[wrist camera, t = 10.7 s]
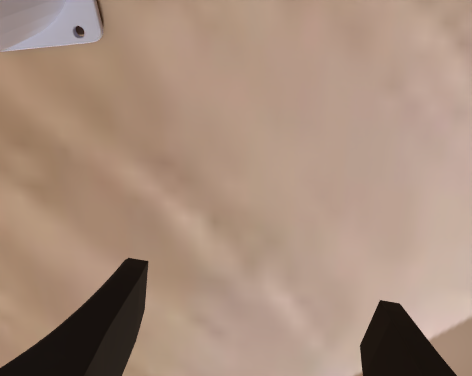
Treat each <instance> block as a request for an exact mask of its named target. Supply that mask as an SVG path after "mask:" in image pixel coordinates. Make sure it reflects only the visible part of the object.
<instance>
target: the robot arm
mask: <svg viewBox="0 0 472 376" xmlns="http://www.w3.org/2000/svg"><path fill="white" fill-rule="evenodd" d="M77 26H80V27H82V28H83V30H84V32H85V35H84V37H83V36H80V35H78V34H77V32H76V27H77ZM102 35H103V26H102V22H101V17H100V13H99V9H98V5H97V1H96V0H0V52H2V51H12V50H22V49H33V48H43V47H53V46H63V45H73V44H83V43H93V42H96V41H98V40H99V39H100V38H101V37H102ZM147 272H148V261H144V260H138V259H132V258H128V259H126V260H125V261H124V262H123V263H122V264H121V265H120V267H119V268H118V269H117V270H116V271H115V272H114V274H113V275H112V276H111V277H110V278H109V279H108V280H107V281H106V282H105V283H104V284H103V285H102V287H101V288H100V289H99V290H98V291H97V292H96V293H95V294H94V295H93V296H92V297H90V298H89V299H88V300H87V301H86V302H85V303H84V304H83V305H82V306H81V307H80V308H79V309H78V310H77V311H76V312H74V313H73V314H72V315H71V316H70V317H69V318H68V319H67V320H65V321H64V322H63V323H62V324H61V325H60V326H58V327H57V328H56V329H55V330H53V331H52V332H51V333H50V334H48V335H47V336H46V337H44V338H43V339H42V340H40V341H39V342H38V343H36V344H35V345H34V346H32V347H31V348H29V349H28V350H27V351H25V352H24V353H22V354H21V355H19V356H18V357H16V358H15V359H14V360H12V361H10V362H9V363H7V364H6V365H4V366H3V367H1V368H0V376H122V374H123V372H124V369H125V367H126V364H127V362H128V359H129V357H130V354H131V352H132V349H133V347H134V344H135V342H136V339H137V335H138V332H139V328H140V324H141V321H142V317H143V314H144V310H145V297H146V285H147ZM360 350H361V362H362V371H363V376H457V375H456V374H455V373H454V372H453V371H452V369H451V368H450V367H449V366H448V365H447V364H446V362H445V361H444V360H443V359H442V357H441V356H440V355H439V354H438V352H437V351H436V350H435V349H434V347H433V346H432V345H431V343H430V342H429V341H428V340H427V338H426V337H425V336H424V334H423V333H422V332H421V331H420V329H419V328H418V327H417V325H416V324H415V323H414V321H413V320H412V319H411V317H410V316H409V315H408V314H407V312H406V311H405V310H404V308H403V307H402V306H401V305H400V304H399V303H393V302H388V301H382V300H380V302H379V304H378V306H377V308H376V311H375V313H374V315H373V317H372V320H371V322H370V324H369V326H368V329H367V331H366V333H365V336H364V338H363V340H362V342H361V345H360Z"/></svg>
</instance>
